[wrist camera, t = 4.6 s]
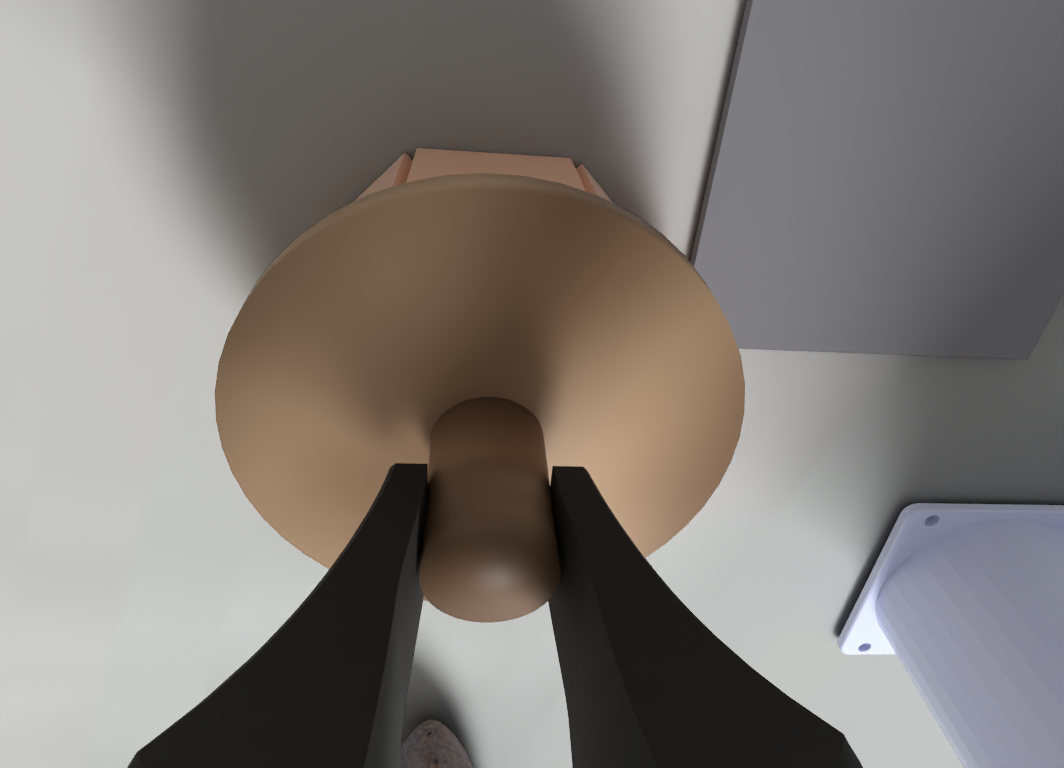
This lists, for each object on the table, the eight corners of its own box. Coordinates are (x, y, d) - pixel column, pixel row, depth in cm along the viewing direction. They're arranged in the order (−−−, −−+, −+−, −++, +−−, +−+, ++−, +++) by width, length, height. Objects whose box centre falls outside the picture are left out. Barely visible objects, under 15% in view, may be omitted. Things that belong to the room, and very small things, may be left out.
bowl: (691, 165, 17) (728, 202, 15) (629, 471, 23) (648, 536, 20) (285, 139, 16) (250, 174, 14) (321, 465, 22) (300, 533, 19)
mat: (1274, -129, 15) (1292, -131, 14) (1018, 353, 21) (1027, 359, 21) (787, -188, 14) (794, -191, 13) (673, 339, 20) (676, 346, 20)
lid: (812, 215, 13) (941, 337, 9) (658, 588, 19) (700, 748, 15) (197, 130, 11) (66, 236, 8) (248, 568, 17) (188, 740, 14)
